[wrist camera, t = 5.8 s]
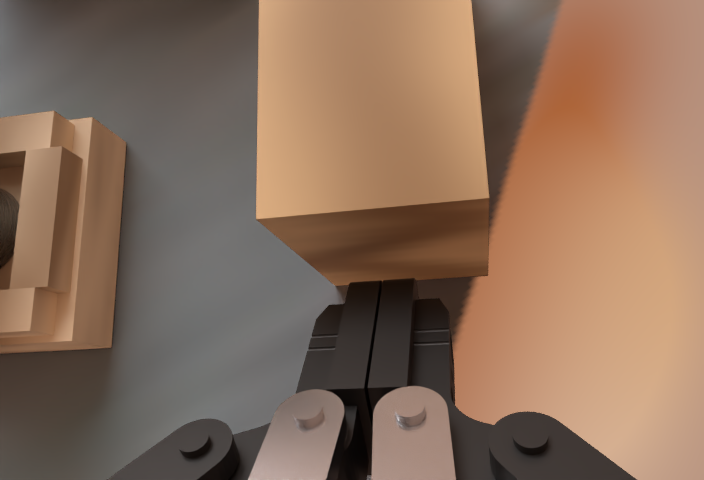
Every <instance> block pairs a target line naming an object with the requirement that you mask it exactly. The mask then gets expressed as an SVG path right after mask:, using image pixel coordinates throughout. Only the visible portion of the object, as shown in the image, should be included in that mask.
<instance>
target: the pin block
mask: <svg viewBox="0 0 704 480" xmlns="http://www.w3.org/2000/svg"><path fill="white" fill-rule="evenodd" d="M125 156H126V142H125V141H124V140H122V139H121V138H120V137H118V136H117V135H116V134H114V133H113V132H112V131H110V130H109V129H108V128H106V127H105V126H104V125H102V124H101V123H100V122H98V121H97V120H96V119H94V118H93V117H88V118H81V119H73V120H67V119H65V118H64V117H62V116H61V115H59V114H58V113H57V112H55V111H48V112H40V113H33V114H25V115H18V116H10V117H3V118H0V188H1V189H3V190H5V191H7V192H9V193H10V194H12V195H13V196H14V197H15V199H16V200H17V201H18V203H19V205H20V206H19V214H18V222H17V231H16V239H15V247H14V254H13V256H12V257H11V259H10V260H9V261H8V262H7V263H6V264H5V265H4V266H3V267H2V268H1V269H0V354H4V353H22V352H41V351H60V350H78V349H97V348H111V346H112V332H113V319H114V305H115V292H116V278H117V265H118V251H119V238H120V224H121V210H122V197H123V183H124V170H125Z"/></svg>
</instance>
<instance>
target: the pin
mask: <svg viewBox="0 0 704 480" xmlns="http://www.w3.org/2000/svg"><path fill="white" fill-rule="evenodd" d="M19 206H20V205H19V203H18V201H17V200H16V199H15V197H14V196H13V195H12V194H10V193H9V192H7V191H5V190H3V189H1V188H0V269H1V268H2V267H3V266H4V265H5V264H6V263H7V262H8V261H9V260H10V259H11V257H12V256H13V254H14V247H15V239H16V231H17V222H18V214H19Z"/></svg>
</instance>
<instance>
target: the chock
mask: <svg viewBox="0 0 704 480" xmlns="http://www.w3.org/2000/svg"><path fill="white" fill-rule="evenodd" d="M256 219H257V220H258V221H259V222H260V223H261V224H262V225H264V226H265V227H266V228H267V229H268V230H270V231H271V232H272V233H273V234H274V235H276V236H277V237H278V238H279V239H280V240H281V241H283V242H284V243H285V244H286V245H287V246H289V247H290V248H291V249H292V250H293V251H295V252H296V253H297V254H298V255H299V256H301V257H302V258H303V259H304V260H305V261H306V262H308V263H309V264H310V265H311V266H312V267H314V268H315V269H316V270H317V271H318V272H320V273H321V274H322V275H323V276H324V277H325V278H327V279H328V280H329V281H330V282H331V283H333V284H334V285H335V286H339V285H349V284H350V282H363V281H378V280H382V282H383V280H392V279H407V278H415V279H416V280H426V279H441V278H455V277H470V276H477V277H479V276H488V246H489V190H488V179H487V168H486V157H485V146H484V135H483V124H482V113H481V102H480V91H479V81H478V70H477V59H476V48H475V37H474V26H473V15H472V4H471V0H259V43H258V118H257V192H256Z"/></svg>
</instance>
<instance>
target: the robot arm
mask: <svg viewBox="0 0 704 480" xmlns="http://www.w3.org/2000/svg"><path fill="white" fill-rule="evenodd" d="M367 475H372V479H371V480H636V479H635V478H634V477H632V476H631V475H630V474H628V473H627V472H626V471H624V470H623V469H622V468H620V467H619V466H617V465H616V464H615V463H614V462H612V461H611V460H610V459H608V458H607V457H606V456H604V455H603V454H602V453H600V452H599V451H598V450H596V449H595V448H594V447H592V446H591V445H590V444H588V443H587V442H586V441H584V440H583V439H582V438H580V437H579V436H578V435H576V434H575V433H574V432H572V431H571V430H570V429H568V428H567V427H566V426H564V425H563V424H562V423H560V422H559V421H557V420H556V419H554V418H552V417H550V416H548V415H545V414H541V413H536V412H518V413H514V414H510V415H508V416H506V417H504V418H502V419H500V420H499V421H498V422H497V423H496V424H495V425H491V424H487V423H483V422H479V421H476V420H474V419H472V418H469V417H468V416H466V415H464V414H463V413H462V412H461V411H459V410H458V409H457V408H456V406H455V386H454V359H453V349H452V340H451V330H450V321H449V312H448V310H447V309H446V308H445V306H444V305H443V303H442V302H441V301H440V299H439V298H438V299H421V300H419V299H418V291H417V284H416V279H415V278H407V279H392V280H383V282H382V280H378V281H363V282H350V284H349V287H348V292H347V296H346V301H345V304H339V305H329V306H328V307H327V308H326V309H325V310H324V311H323V312H322V314H321V315H320V316H319V317H318V318H317V319H316V322H315V326H314V330H313V333H312V338H311V340H310V344H309V351H307V355H306V358H305V362H304V365H303V369H302V373H301V376H300V380H299V383H298V387H297V391H296V394H294V395H293V396H291V397H289V398H288V399H286V400H285V401H284V402H283V403H282V404H281V405H280V406H279V407H278V409H277V410H276V412H275V414H274V416H273V419H272V421H271V423H269V424H266V425H264V426H261V427H259V428H255V429H252V430H248V431H245V432H241V433H238V434H234V435H232V432H231V430H230V428H229V426H228V425H227V424H225V423H224V422H222V421H219V420H216V419H201V420H196V421H193V422H190V423H188V424H186V425H184V426H182V427H180V428H179V429H177V430H176V431H174V432H173V433H172V434H170V435H169V436H167V437H166V438H165V439H163V440H162V441H160V442H159V443H158V444H156V445H155V446H153V447H152V448H151V449H149V450H148V451H146V452H145V453H144V454H142V455H141V456H139V457H138V458H137V459H135V460H134V461H132V462H131V463H130V464H128V465H127V466H125V467H124V468H123V469H121V470H120V471H118V472H117V473H116V474H114V475H113V476H111V477H110V478H109V479H107V480H366V479H367Z"/></svg>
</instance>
